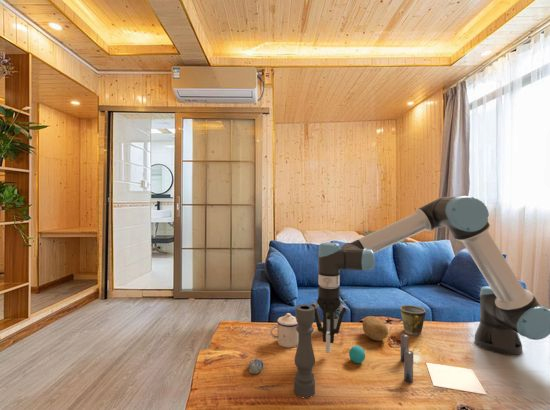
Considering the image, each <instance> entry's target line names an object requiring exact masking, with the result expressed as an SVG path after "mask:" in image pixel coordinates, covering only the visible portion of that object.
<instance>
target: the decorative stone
mask: <svg viewBox="0 0 550 410" xmlns="http://www.w3.org/2000/svg"><path fill="white" fill-rule="evenodd" d="M263 369H264V362H263V360H261V359H260V358H252V359H251V360H250V361H249V364H248V372H249V373H250V374H252V375H256V374H260V373H261V372H262V371H263Z"/></svg>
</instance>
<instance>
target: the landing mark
mask: <svg viewBox="0 0 550 410" xmlns="http://www.w3.org/2000/svg"><path fill="white" fill-rule="evenodd" d="M425 365H426V367H427V370H428V374H429V376H430V379H431V383H432V385H433V387H437V388H438V387H439V388H443V389H447V390H448V389H449V390H455V391H461V392H467V393H472V394H478V395H484V396H488V395H487V392H486V390H485V389H484V387H483V385H482V384H481V382H480V381H479V379H478V377H477V376H476V374H475V372H474V371H473V369H471V368H466V367H458V366H453V365H452V366H451V365H444V364H439V363H431V362H425Z"/></svg>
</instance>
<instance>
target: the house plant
mask: <svg viewBox="0 0 550 410" xmlns="http://www.w3.org/2000/svg"><path fill="white" fill-rule="evenodd" d="M341 297H342V295H339V299H341ZM340 301H341V304H342V305H345V304H347V302H345V301H347V299H343V300H340ZM318 309H321V308H320V306H319V305H318ZM340 312H341V311H340V307H338V309H337V310H336V311H335V312H334V329H336V327H337V323H338V319H339V315H337V314H340ZM322 318H323V315H322ZM327 332H330V312H327Z"/></svg>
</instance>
